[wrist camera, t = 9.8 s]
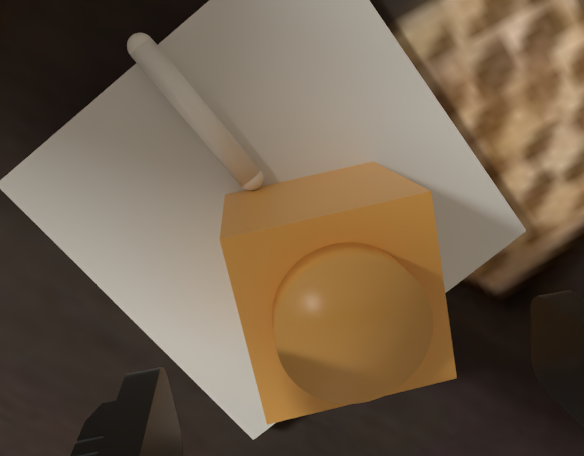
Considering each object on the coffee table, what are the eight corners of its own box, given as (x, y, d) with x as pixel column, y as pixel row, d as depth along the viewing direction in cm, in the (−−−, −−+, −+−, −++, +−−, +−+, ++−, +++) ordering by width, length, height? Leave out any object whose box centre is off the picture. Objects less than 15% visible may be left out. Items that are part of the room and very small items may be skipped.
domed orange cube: (224, 194, 19) (217, 253, 12) (373, 161, 19) (449, 200, 12) (258, 331, 21) (269, 452, 14) (395, 298, 21) (475, 401, 14)
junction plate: (-4, 165, 19) (-98, 193, 14) (293, -92, 18) (318, -171, 13) (252, 422, 23) (257, 524, 18) (511, 223, 22) (601, 266, 16)
